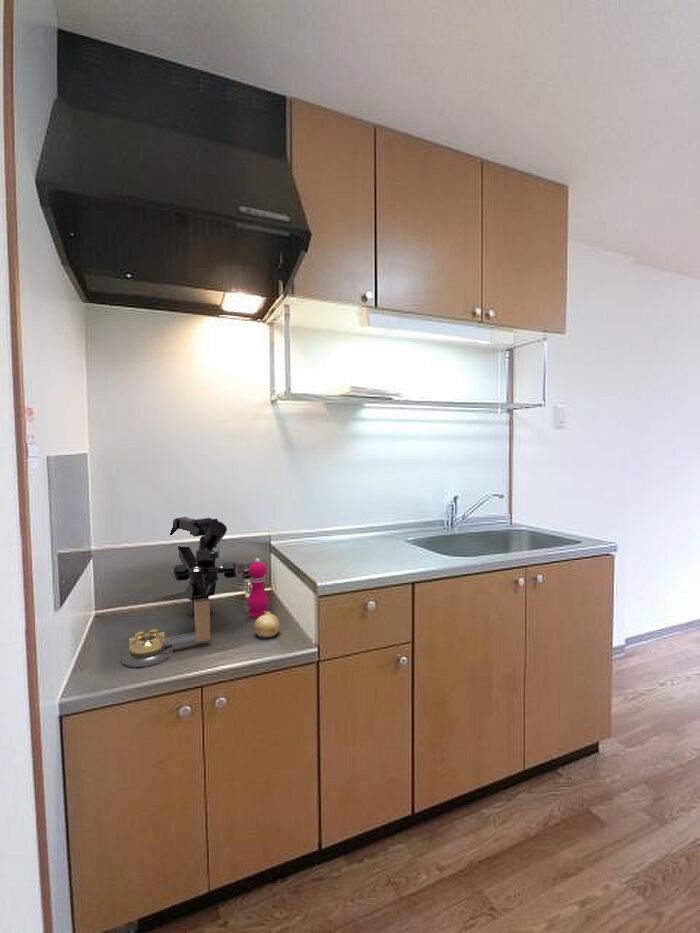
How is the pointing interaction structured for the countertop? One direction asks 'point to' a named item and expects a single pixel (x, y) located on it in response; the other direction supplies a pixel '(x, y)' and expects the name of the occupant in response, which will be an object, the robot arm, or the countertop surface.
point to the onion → (266, 625)
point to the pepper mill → (257, 590)
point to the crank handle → (156, 641)
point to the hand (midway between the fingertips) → (204, 596)
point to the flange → (147, 661)
